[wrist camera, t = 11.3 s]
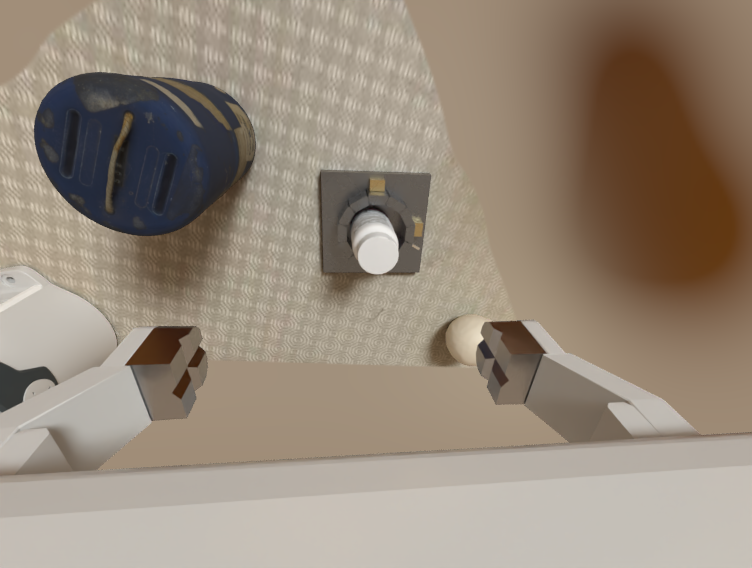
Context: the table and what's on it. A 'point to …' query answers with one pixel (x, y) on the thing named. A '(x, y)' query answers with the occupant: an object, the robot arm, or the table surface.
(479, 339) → the beige sphere
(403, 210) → the lock socket
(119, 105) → the canister
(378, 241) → the pill bottle
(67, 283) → the table surface
